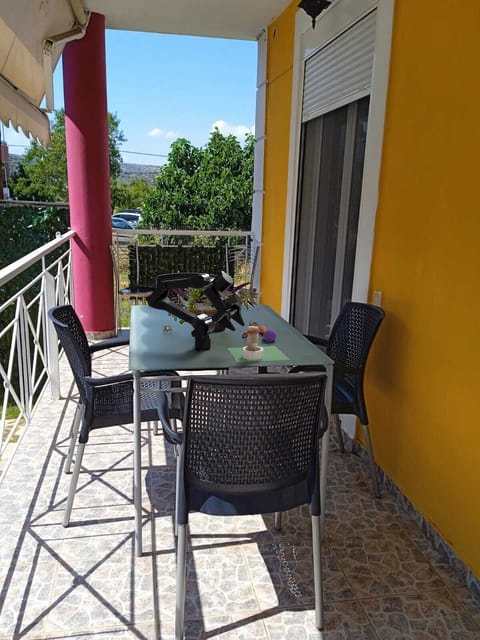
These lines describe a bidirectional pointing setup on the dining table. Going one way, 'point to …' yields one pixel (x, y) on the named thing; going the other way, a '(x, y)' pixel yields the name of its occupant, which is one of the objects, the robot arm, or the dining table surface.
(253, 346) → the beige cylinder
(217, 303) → the robot arm
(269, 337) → the purple faceted ball
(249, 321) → the dining table surface
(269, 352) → the putting mat
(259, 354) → the cup
